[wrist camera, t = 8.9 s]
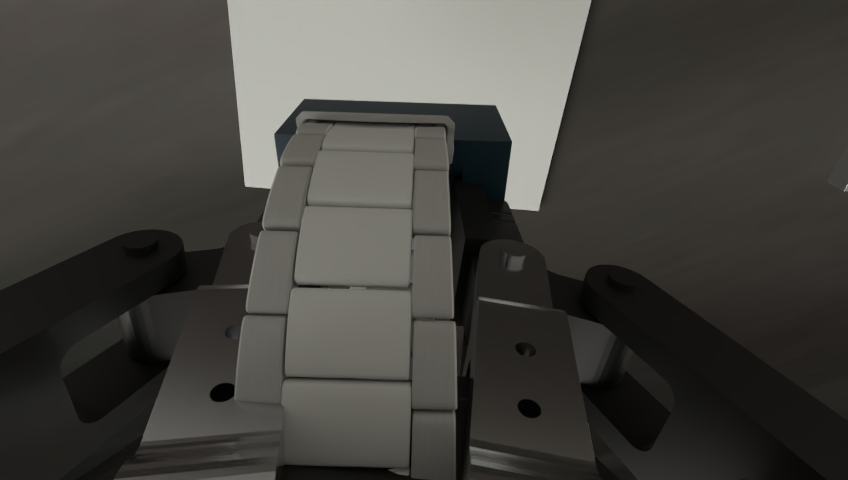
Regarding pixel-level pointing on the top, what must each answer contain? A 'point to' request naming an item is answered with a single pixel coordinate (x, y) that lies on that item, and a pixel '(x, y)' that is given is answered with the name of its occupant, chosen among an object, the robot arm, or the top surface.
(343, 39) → the mat
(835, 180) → the picture frame
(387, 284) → the watch
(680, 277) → the top surface
